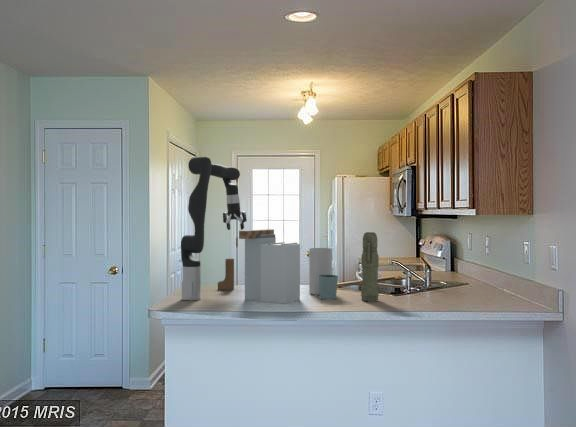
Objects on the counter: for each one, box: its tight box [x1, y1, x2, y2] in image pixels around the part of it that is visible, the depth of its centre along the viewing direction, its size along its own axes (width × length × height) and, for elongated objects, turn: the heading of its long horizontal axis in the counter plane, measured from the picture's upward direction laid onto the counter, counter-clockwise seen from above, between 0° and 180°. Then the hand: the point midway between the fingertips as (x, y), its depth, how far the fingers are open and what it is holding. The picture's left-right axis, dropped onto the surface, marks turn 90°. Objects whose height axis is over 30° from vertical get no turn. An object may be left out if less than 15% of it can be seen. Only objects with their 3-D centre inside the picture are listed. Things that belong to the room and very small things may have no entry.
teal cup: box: [319, 274, 339, 300], centre depth 299 cm, size 10×10×12 cm
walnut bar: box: [238, 228, 275, 240], centre depth 295 cm, size 26×4×4 cm, turn 148°
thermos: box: [360, 231, 380, 302], centre depth 291 cm, size 9×12×35 cm
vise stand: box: [244, 233, 301, 304], centre depth 294 cm, size 14×25×34 cm, turn 58°
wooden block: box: [217, 258, 235, 291], centre depth 330 cm, size 9×4×18 cm, turn 88°
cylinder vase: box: [308, 247, 333, 296], centre depth 315 cm, size 12×12×25 cm
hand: (235, 229), depth 333 cm, fingers open, 8 cm apart
